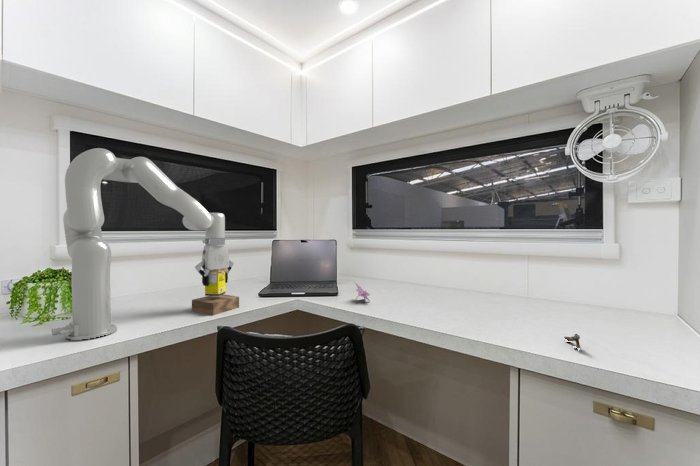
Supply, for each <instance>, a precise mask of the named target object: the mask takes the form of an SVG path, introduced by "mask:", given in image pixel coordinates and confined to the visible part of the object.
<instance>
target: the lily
mask: <svg viewBox="0 0 700 466" xmlns="http://www.w3.org/2000/svg"><path fill="white" fill-rule="evenodd" d="M353 283H354V284H355V286H356V287H357V288H356V289H355V291H356V292H358V293H357V294H358V295H357V296H356V297H355V300H354V303H356V300H357V299H358V298H359V297H362V298H363V299H364V300H367V301H368V302H369V303H371V301H370V299H369V298H368V297H370V296H371V293H369V292H368V291H367V290H365V289H363V287H362V286H361V285H359V284H358V283H357V282H355V281H353Z"/></svg>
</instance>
